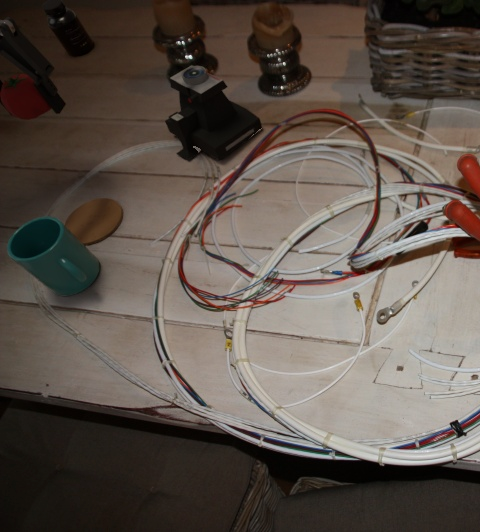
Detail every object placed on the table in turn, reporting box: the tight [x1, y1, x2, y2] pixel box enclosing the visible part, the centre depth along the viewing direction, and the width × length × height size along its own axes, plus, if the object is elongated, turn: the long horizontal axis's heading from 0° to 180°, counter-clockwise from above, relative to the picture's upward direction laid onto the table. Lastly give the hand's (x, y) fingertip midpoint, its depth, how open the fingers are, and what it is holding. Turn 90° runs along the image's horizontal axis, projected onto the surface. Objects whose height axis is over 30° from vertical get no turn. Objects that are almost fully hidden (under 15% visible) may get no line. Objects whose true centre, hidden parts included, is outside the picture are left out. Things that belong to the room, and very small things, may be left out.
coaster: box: [64, 197, 124, 246], centre depth 103 cm, size 11×11×1 cm
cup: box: [6, 216, 100, 297], centre depth 91 cm, size 9×12×11 cm
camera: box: [164, 64, 263, 161], centre depth 109 cm, size 16×14×15 cm
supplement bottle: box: [41, 0, 94, 57], centre depth 133 cm, size 7×7×12 cm
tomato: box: [0, 73, 52, 121], centre depth 97 cm, size 8×8×7 cm
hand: (38, 109), depth 99 cm, fingers closed on tomato, 8 cm apart
